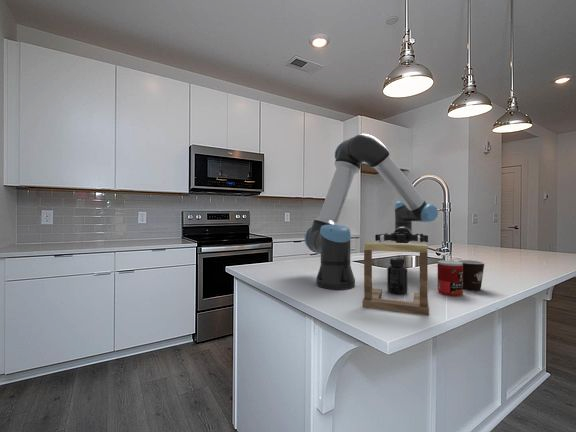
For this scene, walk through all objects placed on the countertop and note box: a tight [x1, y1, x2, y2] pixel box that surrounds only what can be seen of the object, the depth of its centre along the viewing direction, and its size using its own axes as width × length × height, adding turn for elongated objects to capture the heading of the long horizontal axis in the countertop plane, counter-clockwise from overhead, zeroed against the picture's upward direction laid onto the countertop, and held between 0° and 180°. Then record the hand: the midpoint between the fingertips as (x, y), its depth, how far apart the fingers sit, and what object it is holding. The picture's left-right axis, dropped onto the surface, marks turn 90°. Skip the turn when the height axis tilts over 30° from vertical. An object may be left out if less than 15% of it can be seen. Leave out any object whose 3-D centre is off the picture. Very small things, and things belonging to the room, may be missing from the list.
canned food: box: [437, 259, 464, 297], centre depth 102 cm, size 8×8×11 cm
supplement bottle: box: [386, 257, 409, 295], centre depth 103 cm, size 7×7×12 cm
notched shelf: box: [362, 241, 430, 316], centre depth 91 cm, size 15×18×19 cm
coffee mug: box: [457, 259, 485, 292], centre depth 108 cm, size 12×9×10 cm
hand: (399, 240), depth 112 cm, fingers open, 13 cm apart
